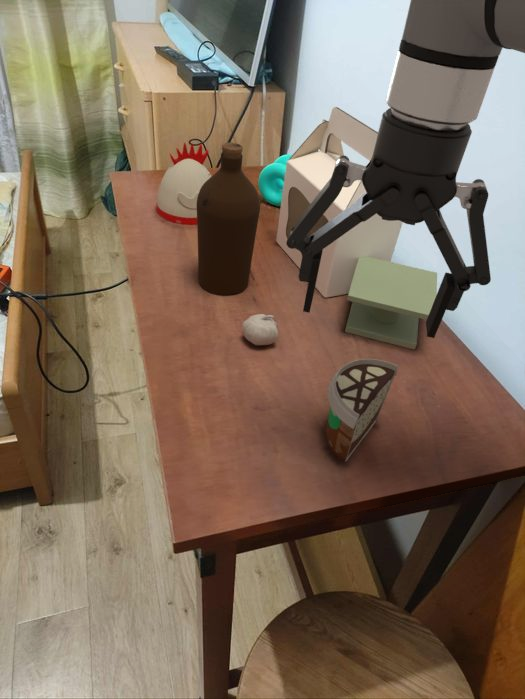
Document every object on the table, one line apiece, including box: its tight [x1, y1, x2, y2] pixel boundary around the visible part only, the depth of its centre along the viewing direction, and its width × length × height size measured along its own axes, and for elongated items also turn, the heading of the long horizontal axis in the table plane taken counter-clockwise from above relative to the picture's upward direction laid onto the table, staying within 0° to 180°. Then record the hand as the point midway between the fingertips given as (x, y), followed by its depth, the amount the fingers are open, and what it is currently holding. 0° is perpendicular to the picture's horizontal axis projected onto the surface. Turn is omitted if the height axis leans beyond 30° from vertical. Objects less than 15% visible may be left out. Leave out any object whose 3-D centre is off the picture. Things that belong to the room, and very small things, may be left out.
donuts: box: [257, 153, 293, 207], centre depth 122 cm, size 10×10×10 cm
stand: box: [344, 256, 438, 350], centre depth 88 cm, size 14×14×8 cm
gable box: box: [275, 106, 404, 299], centre depth 95 cm, size 22×13×28 cm, turn 24°
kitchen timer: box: [156, 141, 212, 226], centre depth 111 cm, size 14×14×15 cm
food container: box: [325, 358, 399, 463], centre depth 67 cm, size 12×6×10 cm, turn 144°
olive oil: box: [196, 142, 261, 296], centre depth 87 cm, size 11×11×25 cm
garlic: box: [241, 313, 279, 346], centre depth 81 cm, size 6×5×5 cm
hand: (368, 317), depth 56 cm, fingers open, 13 cm apart
